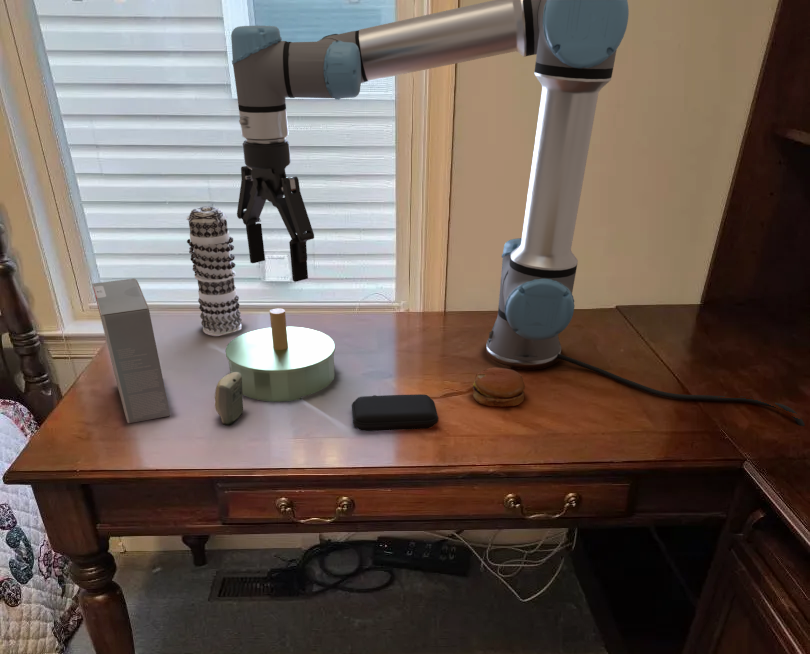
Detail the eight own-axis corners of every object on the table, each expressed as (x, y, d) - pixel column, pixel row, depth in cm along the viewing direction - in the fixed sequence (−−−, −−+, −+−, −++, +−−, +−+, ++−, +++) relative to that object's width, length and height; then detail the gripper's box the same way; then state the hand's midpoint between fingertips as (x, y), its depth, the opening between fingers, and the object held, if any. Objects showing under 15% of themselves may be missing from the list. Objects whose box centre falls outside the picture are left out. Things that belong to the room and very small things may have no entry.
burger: (532, 405, 137) (535, 381, 134) (485, 412, 135) (487, 388, 132) (509, 382, 145) (511, 359, 142) (464, 389, 142) (465, 366, 140)
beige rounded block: (249, 425, 130) (244, 383, 125) (218, 429, 129) (212, 386, 124) (245, 410, 135) (240, 368, 130) (215, 413, 133) (209, 372, 129)
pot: (355, 381, 145) (354, 353, 141) (267, 412, 134) (264, 382, 131) (297, 349, 157) (295, 322, 153) (213, 375, 146) (209, 347, 143)
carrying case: (432, 403, 137) (351, 405, 136) (432, 387, 136) (350, 390, 135) (439, 431, 129) (353, 435, 128) (440, 416, 127) (352, 419, 126)
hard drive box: (116, 387, 141) (91, 282, 130) (158, 380, 144) (137, 276, 132) (126, 424, 130) (100, 313, 118) (171, 416, 132) (150, 306, 121)
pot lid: (357, 356, 141) (355, 313, 137) (263, 386, 131) (259, 342, 126) (295, 324, 154) (292, 284, 149) (206, 350, 143) (199, 308, 138)
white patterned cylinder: (239, 337, 161) (224, 215, 147) (196, 336, 161) (177, 214, 147) (247, 321, 169) (233, 203, 154) (206, 320, 169) (188, 203, 154)
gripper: (206, 132, 128) (224, 258, 140) (289, 153, 112) (301, 293, 125) (244, 127, 132) (258, 250, 144) (330, 147, 116) (337, 283, 129)
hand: (278, 270), depth 134 cm, fingers open, 13 cm apart
